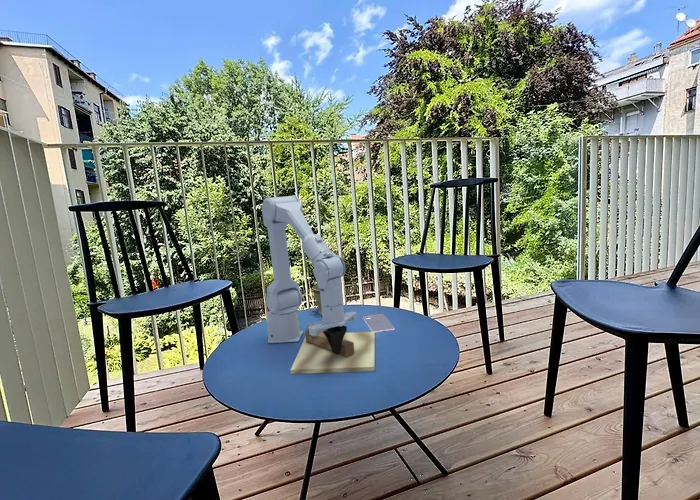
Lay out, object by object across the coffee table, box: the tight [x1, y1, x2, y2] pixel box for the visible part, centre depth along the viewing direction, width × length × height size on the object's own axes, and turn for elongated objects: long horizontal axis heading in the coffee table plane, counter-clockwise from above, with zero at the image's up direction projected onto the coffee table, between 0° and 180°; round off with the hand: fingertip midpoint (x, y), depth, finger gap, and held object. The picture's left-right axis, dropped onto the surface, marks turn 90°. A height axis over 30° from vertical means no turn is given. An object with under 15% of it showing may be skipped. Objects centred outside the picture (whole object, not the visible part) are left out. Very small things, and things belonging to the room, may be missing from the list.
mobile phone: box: [362, 313, 395, 334], centre depth 122 cm, size 8×1×15 cm
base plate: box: [290, 331, 376, 375], centre depth 103 cm, size 21×22×1 cm
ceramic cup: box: [312, 284, 322, 316], centre depth 134 cm, size 13×10×10 cm
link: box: [304, 327, 354, 357], centre depth 104 cm, size 18×4×3 cm, turn 43°
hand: (336, 352), depth 97 cm, fingers closed
